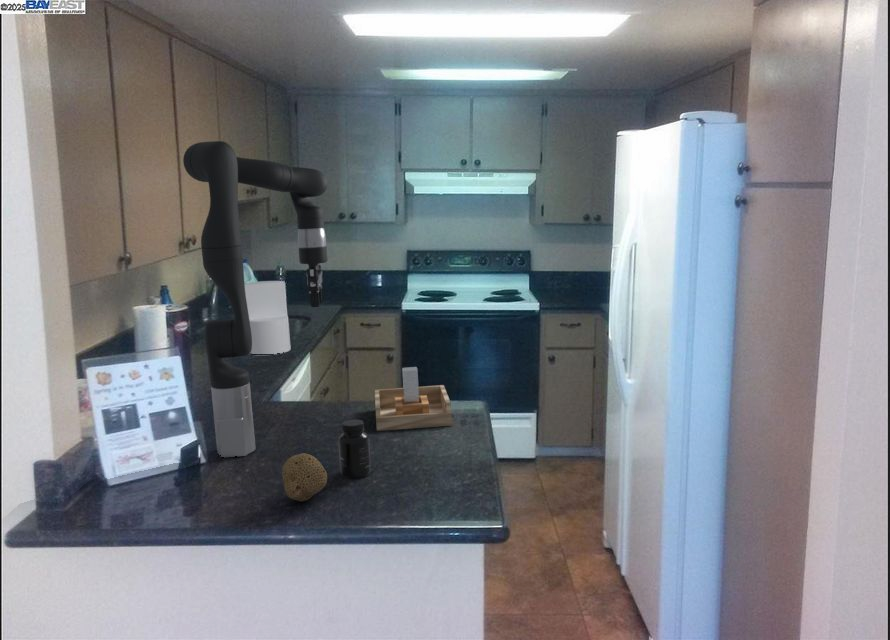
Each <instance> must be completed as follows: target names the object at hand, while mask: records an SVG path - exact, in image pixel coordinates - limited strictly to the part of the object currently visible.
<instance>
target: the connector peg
mask: <svg viewBox="0 0 890 640" xmlns="http://www.w3.org/2000/svg"><path fill="white" fill-rule="evenodd" d="M418 373H419V372H418V367H417V366H409V367H402V384H403V385H402V388H403V389H404V404H409V403H419V387H420V386H419V374H418Z"/></svg>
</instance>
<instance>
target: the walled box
mask: <svg viewBox="0 0 890 640" xmlns="http://www.w3.org/2000/svg"><path fill="white" fill-rule="evenodd" d="M418 387H419V403H409V404H404V389H403V387H396V388H382V389H381V388H380V389H374V399H375V400H374V401H375V405H374V406H375V421H376V431H377V432H381V431H395V430H396V431H398V430H408V429H421V428H422V429H423V428H433V427H436V428H437V427H449V426H450V427H451V426H453V422H452V421H453V417H452V415H453V414H452V406H451V405H452V404H451V400H450V398H449V395H448V393H447V390H446V387H445V385H444V384H440V385H439V384H438V385H426V386H424V385H423V386H418Z"/></svg>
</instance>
